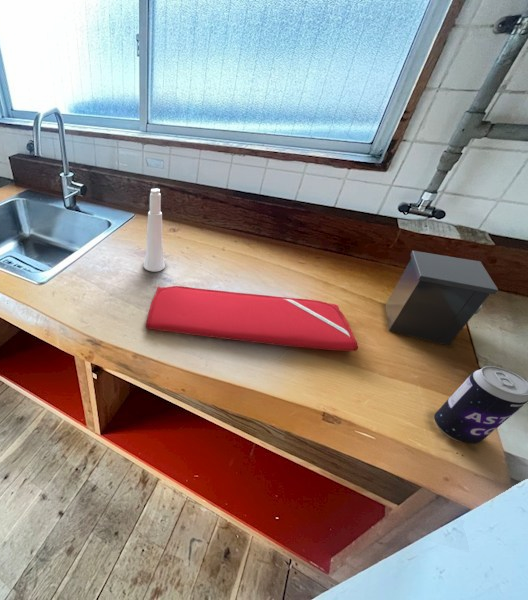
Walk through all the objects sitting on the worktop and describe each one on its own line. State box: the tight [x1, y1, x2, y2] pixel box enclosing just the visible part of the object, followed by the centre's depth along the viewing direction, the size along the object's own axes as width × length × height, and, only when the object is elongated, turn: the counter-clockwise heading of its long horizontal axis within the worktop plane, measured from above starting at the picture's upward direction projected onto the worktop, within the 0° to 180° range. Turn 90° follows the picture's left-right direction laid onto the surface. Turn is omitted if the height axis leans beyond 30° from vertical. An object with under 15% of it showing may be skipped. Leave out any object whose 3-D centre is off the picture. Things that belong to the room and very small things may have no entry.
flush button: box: [474, 304, 483, 315], centre depth 63 cm, size 3×3×3 cm
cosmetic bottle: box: [143, 188, 166, 272], centre depth 86 cm, size 6×6×22 cm
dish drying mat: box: [145, 285, 359, 352], centre depth 71 cm, size 16×41×4 cm, turn 76°
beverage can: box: [433, 365, 528, 445], centre depth 46 cm, size 6×6×12 cm
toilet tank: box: [384, 250, 499, 346], centre depth 65 cm, size 11×11×14 cm
